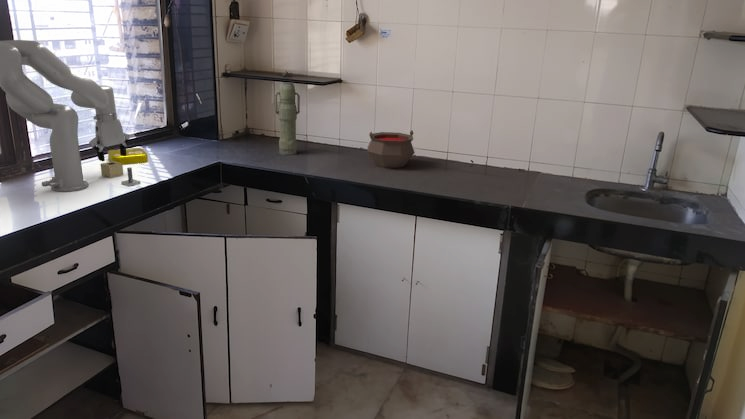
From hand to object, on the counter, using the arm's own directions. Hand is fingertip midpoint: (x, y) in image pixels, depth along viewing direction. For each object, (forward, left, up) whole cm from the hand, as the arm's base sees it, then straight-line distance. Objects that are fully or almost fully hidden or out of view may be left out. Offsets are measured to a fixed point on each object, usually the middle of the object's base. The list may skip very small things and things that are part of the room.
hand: (112, 158), depth 232 cm
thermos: (+79, -25, -7) cm, 83 cm away
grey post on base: (-4, -17, -7) cm, 19 cm away
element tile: (+18, +18, -8) cm, 26 cm away
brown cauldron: (+95, -76, -7) cm, 122 cm away
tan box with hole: (-1, 0, -7) cm, 7 cm away
